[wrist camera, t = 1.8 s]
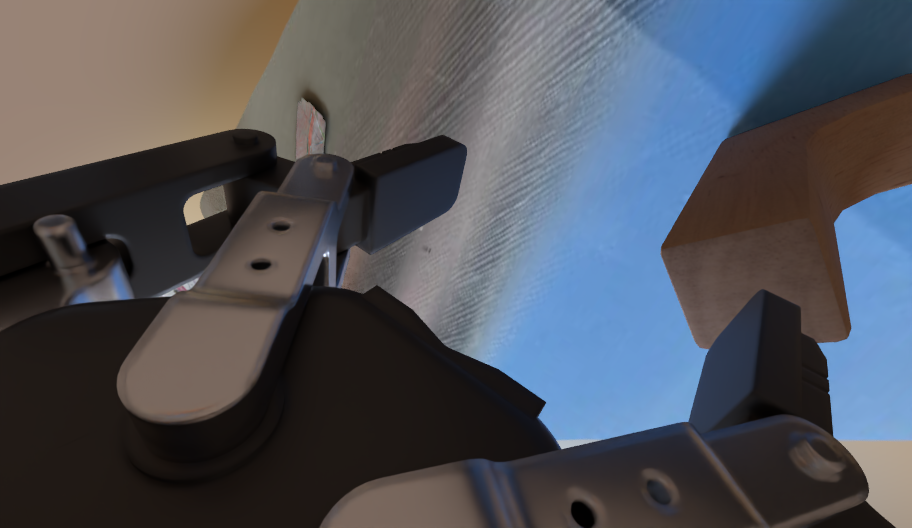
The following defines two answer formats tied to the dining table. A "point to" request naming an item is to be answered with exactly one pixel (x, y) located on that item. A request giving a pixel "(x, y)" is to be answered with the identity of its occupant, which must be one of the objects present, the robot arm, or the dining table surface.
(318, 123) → the map
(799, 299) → the wooden block
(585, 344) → the dining table surface
